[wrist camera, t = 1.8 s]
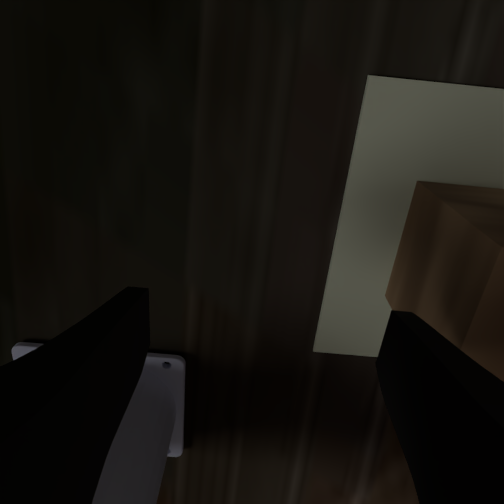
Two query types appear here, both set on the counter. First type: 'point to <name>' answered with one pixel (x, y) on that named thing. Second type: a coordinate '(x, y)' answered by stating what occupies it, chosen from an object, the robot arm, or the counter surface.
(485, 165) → the cream board
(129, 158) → the counter surface
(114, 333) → the robot arm
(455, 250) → the walnut block
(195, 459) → the counter surface
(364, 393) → the counter surface
